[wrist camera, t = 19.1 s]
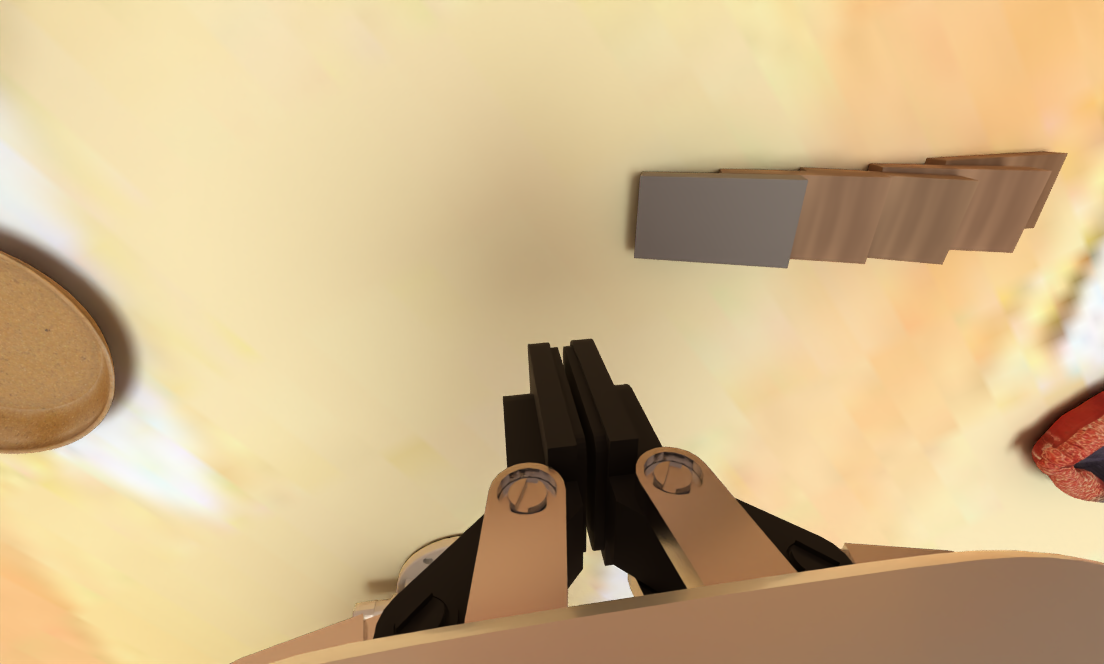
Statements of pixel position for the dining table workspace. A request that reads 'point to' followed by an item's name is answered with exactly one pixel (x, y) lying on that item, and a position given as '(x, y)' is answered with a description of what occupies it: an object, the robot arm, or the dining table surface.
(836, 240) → the tile
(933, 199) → the tile
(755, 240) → the dark gray tile
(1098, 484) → the dish
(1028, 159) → the brown wooden block
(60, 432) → the plant saucer
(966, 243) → the tile
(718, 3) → the dining table surface
